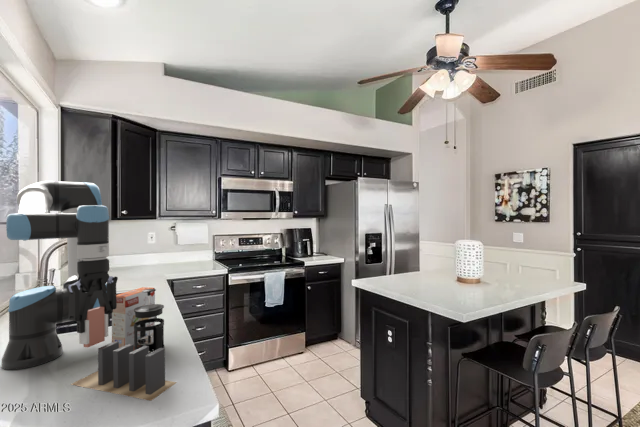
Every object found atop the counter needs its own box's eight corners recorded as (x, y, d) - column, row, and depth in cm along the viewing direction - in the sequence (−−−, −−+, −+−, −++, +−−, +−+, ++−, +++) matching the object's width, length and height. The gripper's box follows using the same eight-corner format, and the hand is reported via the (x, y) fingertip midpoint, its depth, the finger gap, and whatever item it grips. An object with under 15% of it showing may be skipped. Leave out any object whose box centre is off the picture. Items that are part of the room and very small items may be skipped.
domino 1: (98, 384, 87) (98, 348, 87) (114, 375, 92) (114, 341, 92) (102, 385, 87) (102, 349, 87) (119, 376, 92) (118, 342, 92)
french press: (126, 359, 105) (126, 290, 105) (155, 349, 112) (154, 284, 112) (144, 369, 98) (144, 295, 98) (173, 357, 106) (172, 289, 106)
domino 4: (145, 393, 82) (145, 355, 82) (160, 384, 87) (160, 347, 87) (150, 394, 82) (150, 356, 82) (165, 384, 87) (164, 348, 87)
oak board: (70, 387, 88) (70, 384, 88) (101, 372, 96) (101, 369, 96) (151, 404, 79) (151, 400, 79) (177, 385, 88) (177, 382, 88)
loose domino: (104, 340, 93) (104, 306, 93) (87, 347, 88) (87, 311, 88) (100, 340, 93) (100, 306, 94) (83, 346, 89) (83, 311, 89)
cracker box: (126, 359, 105) (125, 296, 105) (110, 358, 106) (110, 295, 106) (156, 342, 118) (155, 287, 119) (142, 341, 120) (141, 286, 120)
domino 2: (113, 387, 86) (113, 350, 86) (129, 378, 90) (129, 343, 90) (118, 388, 85) (117, 351, 85) (133, 379, 90) (133, 344, 90)
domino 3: (129, 390, 84) (128, 353, 84) (144, 381, 89) (144, 345, 89) (133, 391, 84) (133, 353, 84) (149, 382, 88) (148, 346, 88)
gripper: (70, 263, 81) (70, 354, 81) (130, 255, 99) (131, 329, 98) (49, 262, 84) (50, 351, 83) (112, 254, 101) (113, 327, 101)
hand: (94, 339), depth 91 cm, fingers closed on loose domino, 5 cm apart
